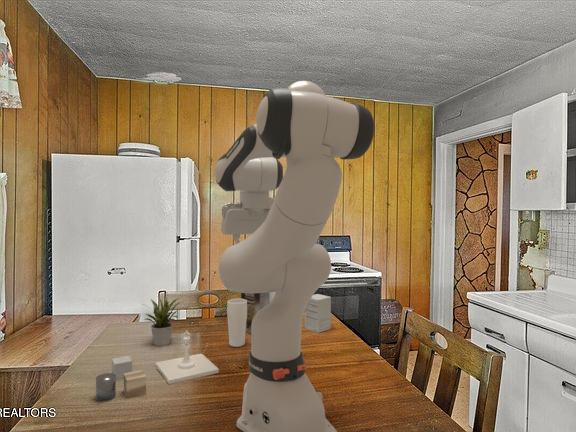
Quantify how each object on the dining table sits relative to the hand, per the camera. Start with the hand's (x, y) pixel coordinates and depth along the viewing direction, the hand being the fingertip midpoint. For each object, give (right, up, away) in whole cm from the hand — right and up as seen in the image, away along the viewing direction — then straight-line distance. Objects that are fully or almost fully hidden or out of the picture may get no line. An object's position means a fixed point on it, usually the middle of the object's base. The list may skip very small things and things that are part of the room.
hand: (254, 249), depth 119 cm
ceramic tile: (-19, -34, -5) cm, 39 cm away
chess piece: (-19, -33, -5) cm, 39 cm away
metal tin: (-34, -34, -22) cm, 53 cm away
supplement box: (+22, -34, +33) cm, 52 cm away
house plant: (-31, -34, +16) cm, 49 cm away
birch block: (-28, -34, -19) cm, 49 cm away
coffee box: (-2, -34, +30) cm, 45 cm away
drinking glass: (-7, -34, +15) cm, 38 cm away
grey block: (-36, -34, -10) cm, 50 cm away
